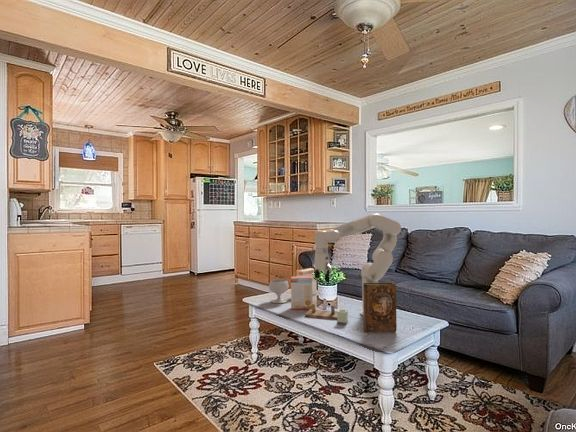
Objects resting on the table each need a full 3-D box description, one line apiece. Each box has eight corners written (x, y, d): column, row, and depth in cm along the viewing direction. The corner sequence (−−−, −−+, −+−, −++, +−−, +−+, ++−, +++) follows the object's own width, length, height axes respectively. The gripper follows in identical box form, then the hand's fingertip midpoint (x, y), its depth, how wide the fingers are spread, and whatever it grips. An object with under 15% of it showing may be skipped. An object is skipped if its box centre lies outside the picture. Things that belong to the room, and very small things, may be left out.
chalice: (282, 305, 239) (282, 283, 239) (265, 302, 246) (265, 281, 246) (292, 300, 251) (292, 279, 251) (275, 298, 258) (275, 278, 258)
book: (365, 333, 183) (364, 285, 182) (362, 329, 188) (362, 283, 188) (396, 332, 183) (396, 284, 183) (393, 328, 189) (392, 282, 188)
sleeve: (347, 322, 201) (347, 309, 201) (346, 324, 196) (346, 312, 196) (339, 321, 203) (338, 309, 203) (337, 324, 198) (337, 311, 198)
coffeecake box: (310, 292, 276) (310, 267, 275) (317, 294, 270) (316, 268, 270) (296, 295, 266) (295, 270, 266) (302, 297, 260) (302, 271, 260)
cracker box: (313, 307, 233) (312, 276, 233) (312, 310, 227) (312, 277, 227) (291, 307, 234) (291, 275, 234) (291, 309, 228) (290, 277, 228)
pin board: (341, 314, 217) (341, 303, 217) (337, 319, 205) (337, 308, 205) (310, 311, 223) (310, 301, 223) (304, 316, 212) (304, 306, 212)
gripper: (335, 251, 208) (336, 280, 208) (317, 249, 222) (318, 276, 222) (325, 252, 204) (326, 282, 204) (308, 250, 218) (308, 277, 218)
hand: (322, 279), depth 213 cm, fingers open, 9 cm apart
